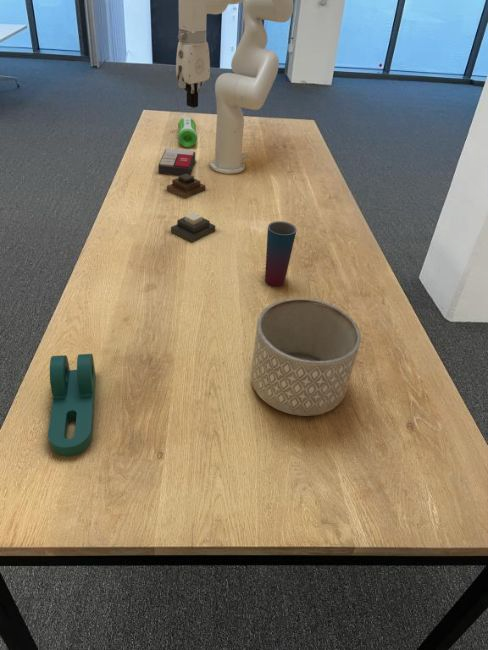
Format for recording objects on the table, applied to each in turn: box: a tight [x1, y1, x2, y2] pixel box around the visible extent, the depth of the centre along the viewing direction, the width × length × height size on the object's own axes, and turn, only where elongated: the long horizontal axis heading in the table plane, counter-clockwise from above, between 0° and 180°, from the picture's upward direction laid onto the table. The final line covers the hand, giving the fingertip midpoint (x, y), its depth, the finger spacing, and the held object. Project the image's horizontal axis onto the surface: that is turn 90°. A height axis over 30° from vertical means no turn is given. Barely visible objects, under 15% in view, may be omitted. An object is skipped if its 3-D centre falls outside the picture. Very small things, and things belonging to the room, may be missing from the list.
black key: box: [178, 174, 195, 184], centre depth 164 cm, size 4×4×2 cm
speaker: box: [177, 116, 198, 148], centre depth 201 cm, size 18×7×8 cm, turn 6°
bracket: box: [47, 353, 97, 457], centre depth 86 cm, size 18×7×8 cm, turn 11°
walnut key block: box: [166, 177, 206, 199], centre depth 165 cm, size 10×8×4 cm
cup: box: [264, 220, 298, 287], centre depth 123 cm, size 7×7×15 cm
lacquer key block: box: [170, 216, 216, 243], centre depth 143 cm, size 10×8×4 cm
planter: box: [250, 297, 362, 417], centre depth 94 cm, size 19×19×14 cm
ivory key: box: [184, 211, 204, 225], centre depth 142 cm, size 4×4×2 cm
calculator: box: [157, 148, 196, 177], centre depth 180 cm, size 11×4×15 cm
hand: (192, 106), depth 150 cm, fingers closed
